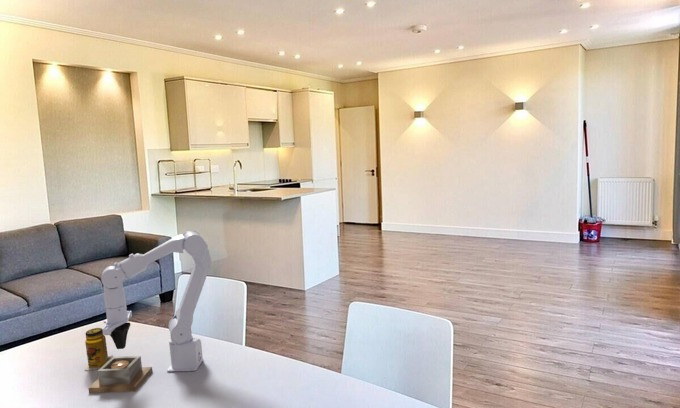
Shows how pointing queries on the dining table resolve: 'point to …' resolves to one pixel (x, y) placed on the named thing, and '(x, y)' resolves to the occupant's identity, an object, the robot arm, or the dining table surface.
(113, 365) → the plunger
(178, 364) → the robot arm
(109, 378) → the base
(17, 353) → the dining table surface
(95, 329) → the condiment
